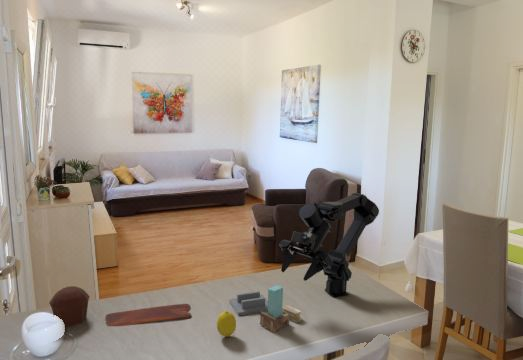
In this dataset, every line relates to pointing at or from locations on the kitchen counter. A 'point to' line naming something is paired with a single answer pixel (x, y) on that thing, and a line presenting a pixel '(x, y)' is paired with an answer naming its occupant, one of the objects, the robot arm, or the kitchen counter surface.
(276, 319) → the stand
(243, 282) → the kitchen counter surface
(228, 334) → the lemon
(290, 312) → the offcut stack
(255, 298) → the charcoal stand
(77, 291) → the muffin
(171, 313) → the wooden tablet
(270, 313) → the teal rectangular block
